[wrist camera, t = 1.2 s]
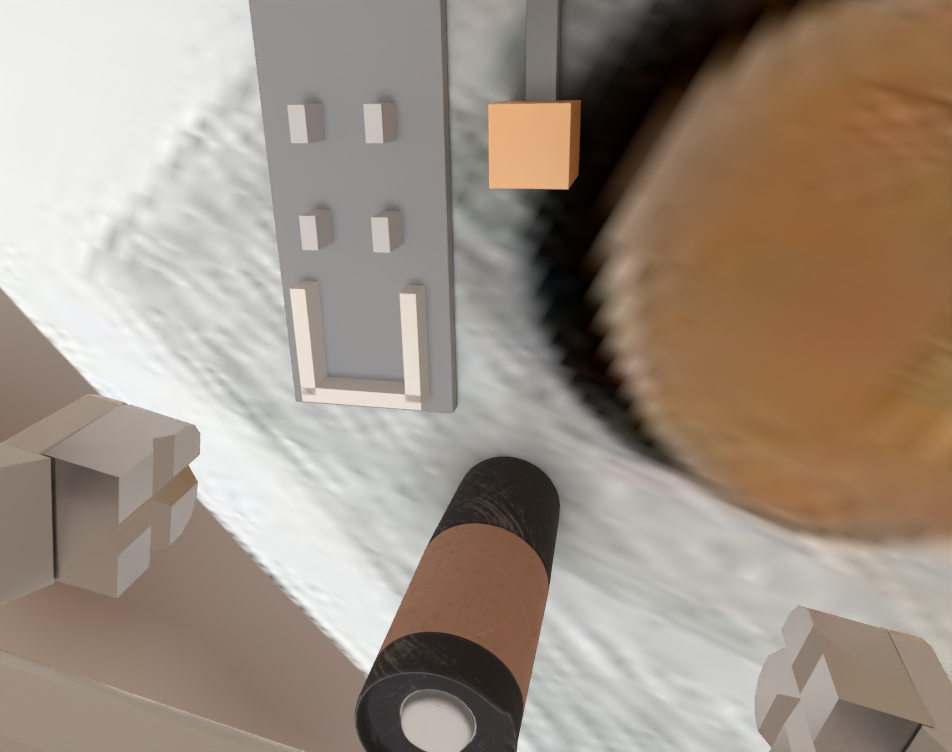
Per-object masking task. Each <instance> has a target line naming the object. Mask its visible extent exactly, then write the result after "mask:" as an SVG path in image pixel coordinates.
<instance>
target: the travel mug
mask: <svg viewBox="0 0 952 752" xmlns="http://www.w3.org/2000/svg"><path fill="white" fill-rule="evenodd" d="M559 507H560V505H559V498H558V495H557V492H556V489H555V487H554V485H553V484H552V482H551V481H550V479H549V478H548V477H547V476H546V475H545V474H544V473H543V472H542V471H541V470H540V469H538V468H537V467H535V466H534V465H532V464H530V463H528V462H526V461H523V460H520V459H516V458H509V457H498V458H492V459H488V460H486V461H483V462H481V463H479V464H478V465H476V466H475V467H473V468H472V469H471V470H470V471H469V472H468V473H467V474H466V476H465V477H464V479H463V480H462V482H461V484H460V485H459V487H458V489H457V491H456V493H455V494H454V496H453V498H452V500H451V502H450V504H449V506H448V508H447V510H446V511H445V513H444V515H443V517H442V519H441V521H440V523H439V525H438V527H437V528H436V530H435V532H434V534H433V536H432V538H431V540H430V542H429V544H428V545H427V548H426V549H425V552H424V554H423V556H422V558H421V560H420V563H419V565H418V567H417V569H416V571H415V574H414V576H413V578H412V580H411V582H410V585H409V587H408V589H407V591H406V594H405V596H404V598H403V600H402V602H401V605H400V607H399V609H398V611H397V613H396V616H395V618H394V620H393V622H392V625H391V627H390V629H389V631H388V633H387V636H386V638H385V640H384V642H383V644H382V647H381V649H380V651H379V653H378V655H377V658H376V660H375V662H374V664H373V667H372V669H371V671H370V673H369V675H368V678H367V680H366V682H365V685H364V687H363V689H362V691H361V693H360V695H359V698H358V701H357V705H356V709H355V727H356V731H357V735H358V737H359V740H360V742H361V744H362V746H363V748H364V749H365V751H366V752H517V742H518V736H519V732H520V727H521V722H522V717H523V712H524V707H525V703H526V698H527V693H528V688H529V683H530V678H531V674H532V669H533V664H534V659H535V654H536V650H537V645H538V640H539V635H540V630H541V625H542V621H543V616H544V611H545V606H546V601H547V596H548V590H549V585H550V578H551V570H552V563H553V556H554V549H555V542H556V535H557V528H558V520H559Z"/></svg>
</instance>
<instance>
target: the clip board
mask: <svg viewBox="0 0 952 752" xmlns="http://www.w3.org/2000/svg"><path fill="white" fill-rule="evenodd" d="M249 5H250V14H251V22H252V31H253V39H254V48H255V56H256V65H257V73H258V82H259V90H260V99H261V107H262V116H263V124H264V133H265V141H266V150H267V158H268V167H269V175H270V184H271V192H272V201H273V209H274V218H275V226H276V235H277V243H278V252H279V260H280V269H281V277H282V286H283V295H284V303H285V312H286V320H287V329H288V337H289V346H290V354H291V363H292V371H293V380H294V388H295V397H296V401H297V402H310V403H323V404H336V405H349V406H362V407H375V408H388V409H401V410H415V411H428V412H441V413H453V412H454V410H455V409H456V407H457V386H456V350H455V315H454V279H453V243H452V207H451V172H450V136H449V100H448V65H447V29H446V0H249Z"/></svg>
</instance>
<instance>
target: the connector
mask: <svg viewBox="0 0 952 752" xmlns="http://www.w3.org/2000/svg"><path fill="white" fill-rule="evenodd" d="M561 9H562V0H527V11H526V101H504V102H498V103H492V104H488V116H489V188H507V189H569V188H570V186H571V185H572V183H573V182H574V181H575V179H576V178H577V176H578V174H579V146H580V117H581V100H559V90H560V50H561Z"/></svg>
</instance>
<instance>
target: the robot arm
mask: <svg viewBox="0 0 952 752" xmlns="http://www.w3.org/2000/svg"><path fill="white" fill-rule="evenodd" d="M199 455H200V432H199V431H198V429H197V428H196V426H195V425H193V424H190V423H186V422H183V421H180V420H177V419H174V418H171V417H168V416H165V415H161V414H158V413H155V412H152V411H149V410H146V409H143V408H140V407H136V406H133V405H128V404H126V403H124V402H121V401H117V400H114V399H110V398H107V397H104V396H100V395H89V394H87V395H85V396H83V397H82V398H80V399H78V400H76V401H74V402H73V403H71V404H69V405H67V406H66V407H64V408H62V409H60V410H59V411H57V412H55V413H54V414H51V415H50V416H48V417H46V418H45V419H43V420H41V421H39V422H37V423H36V424H34V425H32V426H30V427H28V428H27V429H25V430H23V431H22V432H20V433H18V434H16V435H14V436H13V437H11V438H9V439H7V440H6V441H4V442H2V443H1V442H0V606H1V605H3V604H5V603H8V602H10V601H13V600H15V599H18V598H20V597H22V596H25V595H27V594H29V593H32V592H34V591H37V590H39V589H42V588H44V587H46V586H49V585H51V584H53V583H54V580H56V581H60V582H63V583H67V584H70V585H74V586H77V587H80V588H84V589H87V590H91V591H94V592H98V593H101V594H104V595H108V596H111V597H115V598H118V597H119V596H120V595H121V594H122V593H123V592H124V591H125V590H126V589H127V587H129V586H130V585H131V584H132V583H133V582H134V581H135V580H136V579H137V577H139V576H140V575H141V574H142V573H143V572H144V571H145V570H146V569H147V568H148V567H149V559H150V552H152V551H155V550H158V549H161V548H164V547H167V546H170V545H171V544H172V542H173V541H174V540H175V539H176V538H177V537H178V536H179V535H180V534H181V533H182V531H183V529H184V528H185V525H186V524H187V522H188V520H189V518H190V516H191V515H192V512H193V508H194V505H195V501H196V497H197V485H198V482H197V480H196V478H195V476H194V474H193V473H192V471H191V469H190V467H189V464H190V463H191V462H192V461H193V460H194V459H195V458H196V457H197V456H199ZM782 633H783V637H784V640H785V644H786V647H784V648H782V649H780V650H778V651H776V652H775V653H773V654H771V655H769V656H768V657H767V660H766V662H765V664H764V666H763V668H762V671H761V673H760V675H759V679H758V684H757V689H756V694H755V717H756V722H757V728H758V732H759V733H760V734H761V735H762V736H763V738H764V739H765V740H766V741H767V743H768V744H769V745H770V746H771V747H772V748H771V750H770V752H952V684H951V682H950V680H949V678H948V676H947V674H946V672H945V671H944V669H943V667H942V665H941V663H940V661H939V660H938V658H937V656H936V654H935V652H934V650H933V649H932V647H931V646H930V645H929V644H928V643H927V642H925V641H924V640H923V639H922V638H918V637H915V636H911V635H907V634H903V633H899V632H895V631H892V630H888V629H884V628H878V627H874V626H871V625H867V624H863V623H860V622H856V621H853V620H849V619H845V618H842V617H838V616H835V615H831V614H827V613H824V612H820V611H816V610H813V609H809V608H806V607H802V606H797V607H796V608H795V609H794V610H793V611H792V612H791V613H790V614H789V616H788V618H787V620H786V622H785V624H784V626H783V627H782ZM0 752H305V751H302V750H299V749H296V748H293V747H290V746H287V745H284V744H280V743H278V742H275V741H272V740H269V739H266V738H263V737H260V736H256V735H254V734H251V733H248V732H245V731H242V730H239V729H236V728H233V727H230V726H227V725H224V724H221V723H218V722H215V721H212V720H209V719H206V718H203V717H200V716H197V715H194V714H191V713H188V712H186V711H182V710H179V709H177V708H174V707H170V706H167V705H164V704H162V703H159V702H156V701H153V700H149V699H147V698H144V697H141V696H138V695H135V694H132V693H129V692H126V691H123V690H120V689H117V688H114V687H111V686H108V685H105V684H102V683H99V682H96V681H93V680H90V679H87V678H84V677H81V676H79V675H76V674H72V673H69V672H66V671H63V670H61V669H58V668H55V667H52V666H49V665H46V664H43V663H40V662H37V661H34V660H31V659H28V658H25V657H22V656H19V655H16V654H13V653H10V652H7V651H4V650H1V649H0Z"/></svg>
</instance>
